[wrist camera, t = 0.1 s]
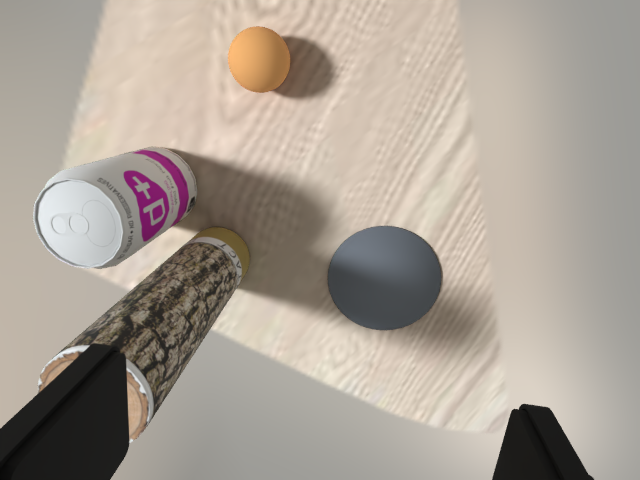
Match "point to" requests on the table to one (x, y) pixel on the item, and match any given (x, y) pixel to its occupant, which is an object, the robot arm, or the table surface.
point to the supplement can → (113, 206)
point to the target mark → (384, 278)
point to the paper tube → (164, 320)
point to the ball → (259, 59)
